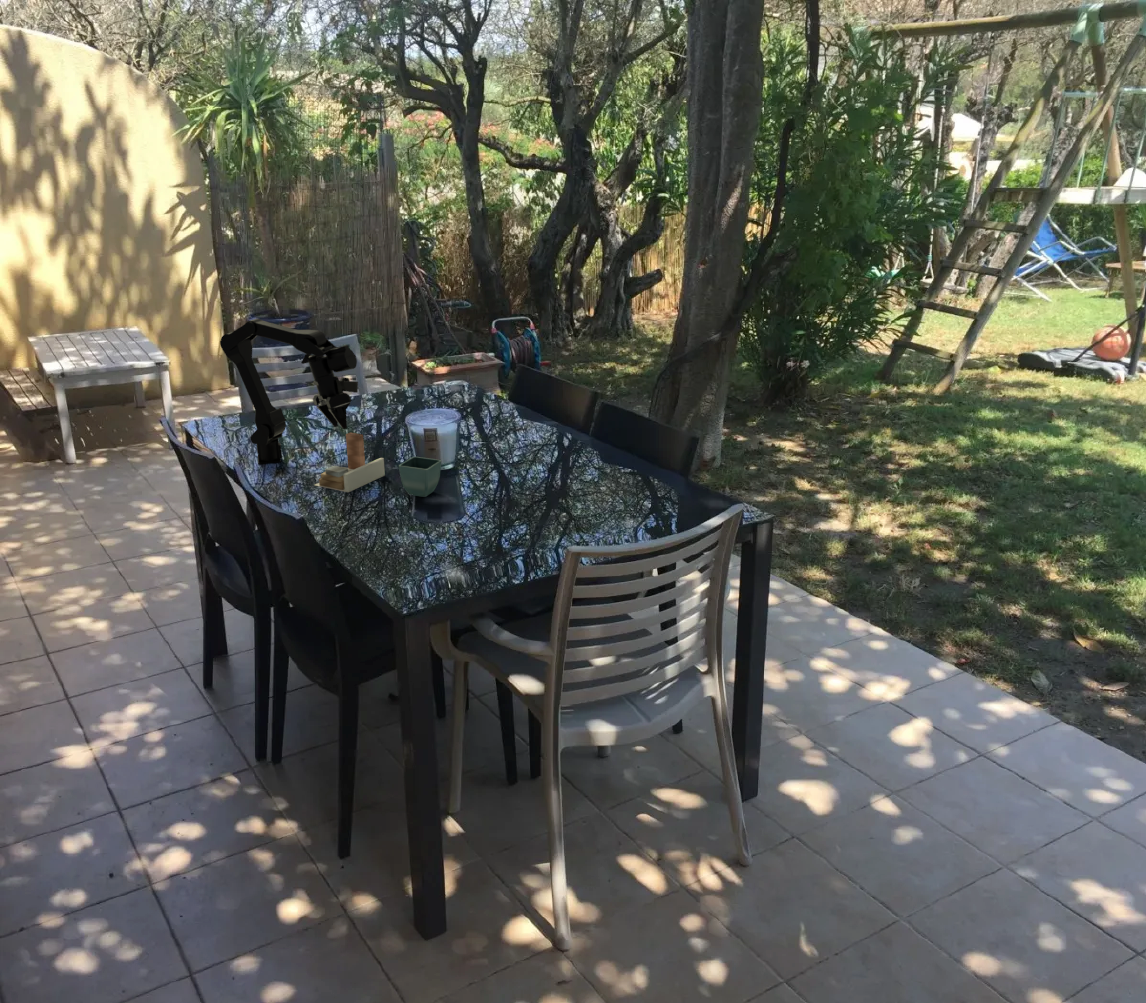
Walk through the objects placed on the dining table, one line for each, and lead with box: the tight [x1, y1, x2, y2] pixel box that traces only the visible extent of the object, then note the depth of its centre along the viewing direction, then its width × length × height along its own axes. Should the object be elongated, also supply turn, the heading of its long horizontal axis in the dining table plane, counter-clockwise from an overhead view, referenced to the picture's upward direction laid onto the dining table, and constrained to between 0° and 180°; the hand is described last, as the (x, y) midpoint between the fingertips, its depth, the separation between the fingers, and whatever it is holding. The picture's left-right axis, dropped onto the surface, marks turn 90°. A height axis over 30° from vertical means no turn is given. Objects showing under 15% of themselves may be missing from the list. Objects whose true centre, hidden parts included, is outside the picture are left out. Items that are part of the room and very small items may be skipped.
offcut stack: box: [318, 465, 348, 491], centre depth 272 cm, size 8×5×5 cm, turn 63°
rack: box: [314, 457, 386, 493], centre depth 276 cm, size 12×16×6 cm
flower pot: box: [398, 456, 442, 498], centre depth 269 cm, size 9×9×9 cm
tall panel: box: [345, 432, 366, 469], centre depth 279 cm, size 4×2×12 cm, turn 63°
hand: (340, 427), depth 285 cm, fingers open, 9 cm apart
